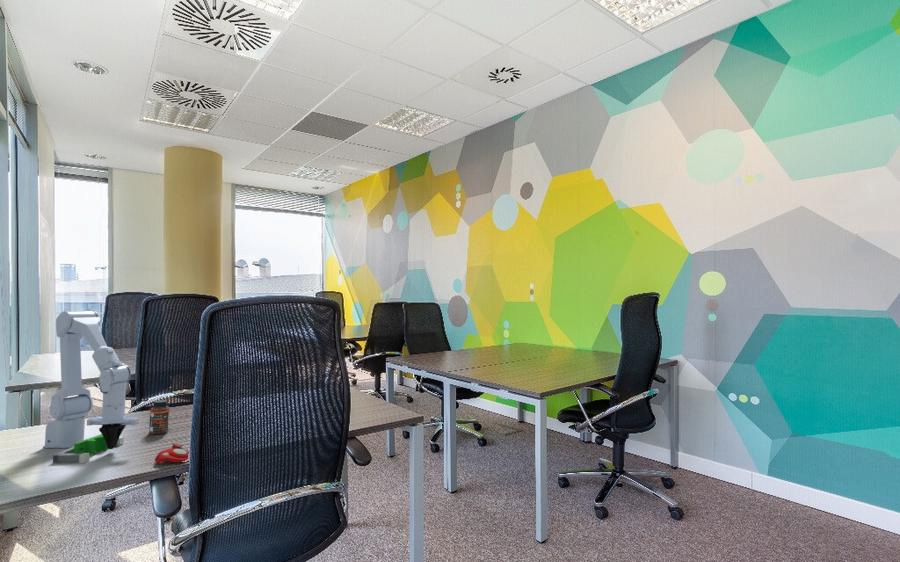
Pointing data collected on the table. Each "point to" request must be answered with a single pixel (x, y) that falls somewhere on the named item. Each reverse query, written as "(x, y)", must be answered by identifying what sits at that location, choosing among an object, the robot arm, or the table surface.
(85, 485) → the table surface
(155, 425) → the supplement bottle
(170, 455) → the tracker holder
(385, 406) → the table surface
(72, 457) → the keeper bracket
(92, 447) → the green block
